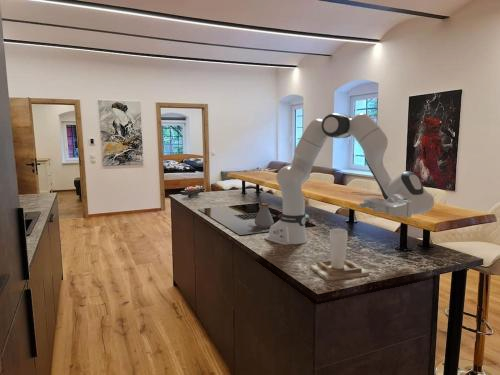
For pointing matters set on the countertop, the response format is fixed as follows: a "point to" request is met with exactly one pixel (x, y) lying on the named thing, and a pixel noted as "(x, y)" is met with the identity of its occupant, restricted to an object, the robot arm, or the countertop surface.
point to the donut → (306, 218)
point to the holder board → (338, 270)
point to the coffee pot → (264, 216)
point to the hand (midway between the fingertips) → (367, 207)
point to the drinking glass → (338, 247)
